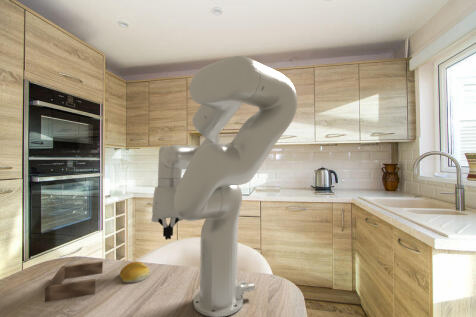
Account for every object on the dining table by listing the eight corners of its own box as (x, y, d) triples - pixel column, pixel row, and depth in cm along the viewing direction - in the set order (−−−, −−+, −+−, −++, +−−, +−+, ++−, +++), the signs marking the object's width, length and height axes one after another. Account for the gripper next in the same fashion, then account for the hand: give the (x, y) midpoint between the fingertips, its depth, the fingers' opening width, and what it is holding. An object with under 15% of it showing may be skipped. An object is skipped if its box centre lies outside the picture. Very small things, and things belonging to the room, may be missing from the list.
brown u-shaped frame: (102, 271, 77) (102, 260, 77) (94, 293, 64) (95, 280, 64) (61, 277, 73) (62, 266, 73) (44, 302, 60) (45, 288, 60)
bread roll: (125, 287, 68) (126, 273, 68) (117, 275, 75) (117, 263, 75) (154, 278, 74) (154, 265, 74) (143, 268, 80) (144, 256, 81)
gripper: (190, 181, 86) (188, 233, 85) (145, 182, 80) (143, 236, 80) (194, 184, 79) (192, 239, 78) (145, 184, 73) (143, 244, 73)
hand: (167, 238), depth 79 cm, fingers closed
